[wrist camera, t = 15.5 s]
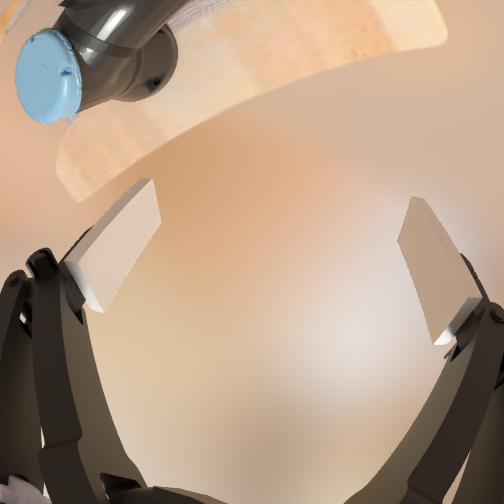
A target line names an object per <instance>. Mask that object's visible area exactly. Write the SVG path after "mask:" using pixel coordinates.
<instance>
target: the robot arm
mask: <svg viewBox="0 0 504 504" xmlns="http://www.w3.org/2000/svg"><path fill="white" fill-rule="evenodd" d="M190 1H191V0H53V2H54V4H56V5H59V6H63V7H66V8H65V9H64V11H63V12H62V14H61V15H60V17H59V18H58V20H57V21H56V23H55V24H54V26H53V27H52V28H45V29H43V30H41V31H39V32H37V33H36V34H35V35H32V36H31V37H30V38H29V39H28V40H27V41H26V43H25V44H24V46H23V47H22V49H21V52H20V54H19V57H18V60H17V64H16V73H15V83H16V88H17V94H18V98H19V101H20V103H21V105H22V107H23V108H24V110H25V111H26V113H27V114H28V115H29V116H30V117H31V118H33V119H34V120H36V121H38V122H40V123H53V122H56V121H59V120H62V119H68V118H70V117H71V116H73V115H74V114H76V113H78V112H81V111H83V110H85V109H88V108H90V107H93V106H95V105H98V104H100V103H103V102H106V101H108V100H111V99H112V100H118V101H123V102H134V101H139V100H142V99H145V98H148V97H150V96H152V95H154V94H156V93H157V92H159V91H160V90H161V89H162V88H163V87H164V86H165V85H166V84H167V83H168V81H169V80H170V78H171V77H172V75H173V73H174V71H175V68H176V64H177V59H178V49H177V44H176V41H175V38H174V36H173V34H172V33H171V32H170V30H169V29H168V28H166V27H165V26H164V25H165V24H166V23H167V22H168V21H169V20H170V19H171V18H172V17H173V16H174V15H175V14H176V13H177V12H179V11H180V10H181V9H182V8H183V7H184V6H185V5H187V4H188V3H189V2H190ZM192 1H194V0H192ZM161 223H162V221H161V217H160V212H159V207H158V203H157V198H156V193H155V188H154V183H153V178H141V179H139V180H138V181H137V182H136V183H135V184H134V185H133V186H132V187H131V188H130V189H129V190H128V191H127V192H126V193H125V194H124V195H123V196H122V197H121V198H120V199H119V200H118V201H117V202H116V203H115V204H114V205H113V206H112V207H111V208H110V209H109V210H108V211H107V212H106V213H105V214H104V215H103V216H102V217H101V218H100V220H98V222H97V223H96V224H95V225H94V226H92V227H91V228H89V229H88V230H87V231H85V232H84V234H83V235H82V236H81V237H80V238H79V240H77V241H76V243H75V244H74V246H72V247H71V249H70V250H69V251H68V252H67V253H66V255H65V256H64V257H63V258H62V259H61V261H60V262H59V263H57V261H56V259H55V257H54V255H53V253H52V251H51V250H50V249H49V248H42V249H39V250H37V251H36V252H34V253H33V254H32V255H31V256H30V257H29V258H28V260H27V262H26V266H27V268H28V270H29V271H30V273H31V275H32V277H33V278H28V277H27V275H26V274H25V272H24V271H23V270H17V271H15V272H13V273H11V274H10V275H9V277H8V278H7V279H6V281H5V283H4V285H3V288H2V290H1V293H0V504H227V503H224V502H221V501H219V500H217V499H214V498H212V497H210V496H208V495H203V494H199V493H195V492H191V491H187V490H183V489H179V488H168V487H158V486H154V487H147V485H146V483H145V481H144V479H143V477H142V475H141V473H140V472H139V470H138V468H137V467H136V465H135V464H134V463H133V462H132V461H131V460H130V459H129V457H128V456H127V454H126V453H125V450H124V448H123V446H122V443H121V441H120V438H119V436H118V433H117V431H116V428H115V425H114V422H113V420H112V417H111V414H110V411H109V408H108V405H107V402H106V399H105V396H104V392H103V389H102V386H101V382H100V378H99V375H98V371H97V367H96V363H95V359H94V355H93V350H92V346H91V341H90V336H89V331H88V326H87V320H86V314H85V310H84V309H83V307H82V305H83V304H84V302H85V301H86V302H87V303H88V305H89V307H90V308H91V310H95V311H98V312H103V313H105V311H106V310H107V308H108V306H109V305H110V303H111V301H112V299H113V298H114V296H115V294H116V292H117V291H118V289H119V287H120V286H121V284H122V282H123V281H124V279H125V278H126V276H127V274H128V273H129V271H130V269H131V268H132V266H133V265H134V263H135V262H136V260H137V258H138V257H139V255H140V254H141V252H142V251H143V249H144V248H145V246H146V244H147V243H148V242H149V240H150V239H151V237H152V236H153V234H154V233H155V231H156V230H157V228H158V227H159V226H160V224H161ZM397 241H398V243H399V246H400V248H401V251H402V253H403V256H404V258H405V261H406V263H407V266H408V268H409V271H410V274H411V276H412V279H413V282H414V285H415V288H416V290H417V293H418V296H419V299H420V302H421V305H422V309H423V312H424V315H425V318H426V321H427V325H428V329H429V332H430V336H431V340H432V343H433V345H440V344H448V342H449V341H450V340H451V339H452V338H453V336H454V335H455V336H456V340H457V343H456V344H455V345H454V346H453V347H452V349H451V350H450V351H449V352H448V353H447V354H446V355H445V356H444V359H446V358H447V357H448V356H449V357H448V359H447V362H446V364H445V366H444V368H443V370H442V372H441V375H440V377H439V379H438V380H437V383H436V384H435V386H434V388H433V390H432V392H431V394H430V396H429V398H428V400H427V401H426V403H425V405H424V406H423V408H422V410H421V412H420V413H419V415H418V417H417V418H416V420H415V421H414V423H413V424H412V426H411V428H410V429H409V431H408V432H407V434H406V435H405V437H404V438H403V440H402V441H401V443H400V444H399V445H398V447H397V448H396V449H395V451H394V452H393V453H392V455H391V456H390V457H389V459H388V460H387V461H386V463H385V464H384V465H383V466H382V468H381V469H380V470H379V471H378V473H377V474H376V475H375V477H373V479H372V480H371V481H370V482H369V483H368V484H367V485H366V486H365V487H364V488H363V489H362V490H360V491H358V492H357V493H355V494H354V495H353V496H352V497H350V498H349V499H348V500H347V501H346V502H345V503H344V504H442V502H443V498H444V496H445V495H446V493H447V491H448V490H449V488H450V486H451V485H452V483H453V481H454V480H455V478H456V476H457V474H458V473H459V471H460V469H461V467H462V465H463V463H464V462H465V459H466V458H467V456H468V454H469V452H470V454H469V457H468V461H467V464H466V467H465V470H464V473H463V476H462V479H461V481H460V484H459V487H458V489H457V492H456V494H455V497H454V499H453V502H452V504H504V310H503V308H502V307H501V306H500V305H498V304H496V303H494V302H490V301H489V299H488V296H487V294H486V292H485V290H484V288H483V286H482V284H481V282H480V280H479V279H478V277H477V275H476V273H475V272H474V269H473V267H472V265H471V263H470V262H469V261H468V260H467V259H466V257H465V256H464V255H463V254H461V253H459V252H458V250H457V248H456V246H455V245H454V243H453V242H452V240H451V238H450V236H449V235H448V233H447V232H446V230H445V229H444V227H443V226H442V224H441V222H440V221H439V220H438V218H437V217H436V215H435V214H434V212H433V211H432V209H431V208H430V207H429V205H428V204H427V202H426V201H425V199H423V198H417V197H411V200H410V203H409V207H408V210H407V213H406V216H405V219H404V222H403V226H402V229H401V232H400V234H399V237H398V240H397ZM21 313H22V315H23V316H24V317H25V318H26V321H25V323H23V322H22V321H21V320H20V314H21ZM41 427H42V431H43V436H44V441H45V445H44V447H43V448H42V442H41ZM470 450H471V451H470ZM44 483H45V486H46V488H47V492H48V494H49V497H50V499H49V498H47V497H46V496H43V490H44ZM106 494H107V495H106ZM107 496H108V497H109V499H108V497H107ZM50 500H51V501H50Z"/></svg>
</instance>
